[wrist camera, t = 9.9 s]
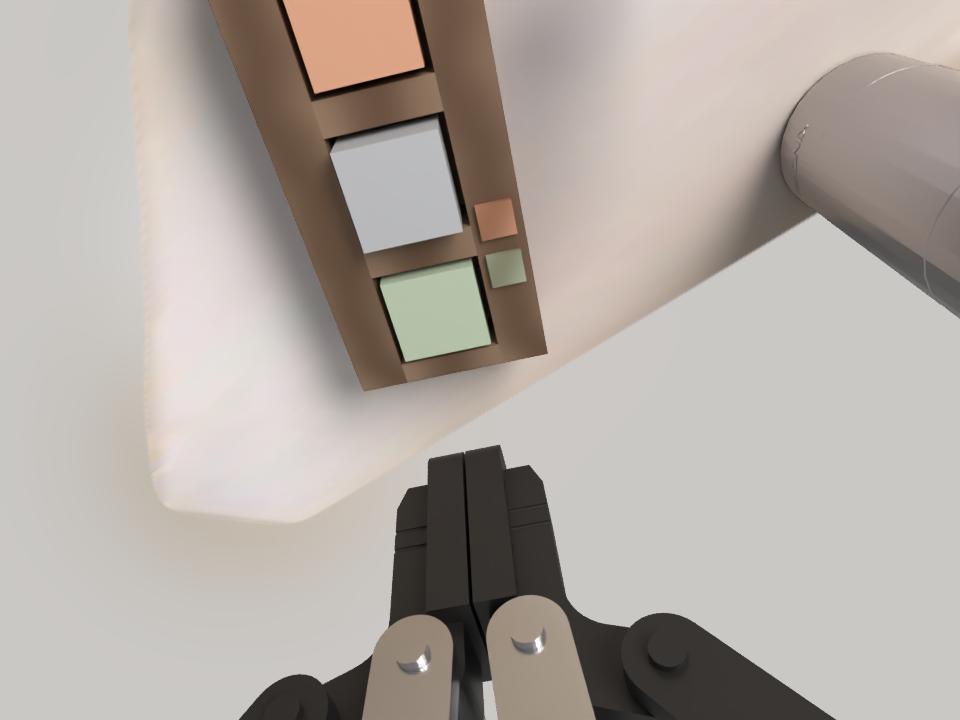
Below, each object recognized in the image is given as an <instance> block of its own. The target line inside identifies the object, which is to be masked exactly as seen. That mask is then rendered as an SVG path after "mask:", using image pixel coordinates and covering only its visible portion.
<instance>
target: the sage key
mask: <svg viewBox="0 0 960 720" xmlns="http://www.w3.org/2000/svg"><path fill="white" fill-rule="evenodd" d="M380 287H381V290H382V293H383V296H384V299H385V302H386V305H387V308H388V311H389V314H390V317H391V320H392V323H393V326H394V329H395V332H396V335H397V338H398V340H399V343H400V346H401V349H402V352H403V355H404V358H405V361H406V362H407V361H412V360H417V359H422V358H426V357H431V356H436V355H441V354H446V353H450V352H455V351H460V350H465V349H470V348H474V347H479V346H484V345H489V344H491V339H490V331H489V324H488V317H487V313H486V309H485V305H484V301H483V296H482V292H481V288H480V284H479V280H478V275H477V271H476V267H475V263H474V259H473V256H472V257H468V258H463V259H459V260H454V261H450V262H445V263H440V264H436V265H431V266H427V267H422V268H418V269H413V270H408V271H404V272H399V273H395V274H390V275H386V276H382V277H381V283H380Z"/></svg>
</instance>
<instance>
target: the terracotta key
mask: <svg viewBox="0 0 960 720" xmlns="http://www.w3.org/2000/svg"><path fill="white" fill-rule="evenodd" d="M283 1H284V4H285V7H286V10H287V13H288V16H289V19H290V22H291V25H292V28H293V31H294V34H295V37H296V40H297V43H298V46H299V49H300V52H301V54H302V57H303V60H304V63H305V66H306V69H307V72H308V75H309V78H310V81H311V84H312V87H313V90H314V93H319V92H323V91H328V90H332V89H336V88H340V87H344V86H348V85H352V84H357V83H361V82H365V81H369V80H373V79H377V78H381V77H386V76H390V75H394V74H398V73H402V72H406V71H410V70H414V69H419V68H423V67H424V66H425V53H424V49H423V44H422V40H421V36H420V32H419V28H418V23H417V19H416V15H415V11H414V7H413V2H412V0H283Z"/></svg>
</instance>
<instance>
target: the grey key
mask: <svg viewBox="0 0 960 720" xmlns="http://www.w3.org/2000/svg"><path fill="white" fill-rule="evenodd" d="M330 156H331V159H332V162H333V165H334V168H335V170H336V173H337V176H338V179H339V182H340V185H341V188H342V191H343V194H344V197H345V200H346V202H347V205H348V208H349V211H350V214H351V217H352V220H353V223H354V226H355V229H356V232H357V234H358V237H359V240H360V243H361V246H362V249H363V252H364V254H365V253H369V252H374V251H378V250H383V249H387V248H392V247H396V246H401V245H405V244H410V243H414V242H419V241H423V240H428V239H432V238H437V237H442V236H446V235H451V234H455V233H460V232H463V228H462V216H461V209H460V205H459V200H458V196H457V192H456V188H455V184H454V179H453V175H452V171H451V167H450V163H449V159H448V154H447V150H446V146H445V142H444V138H443V133H442V129H441V125H440V121H439V117H438V114H434V115H430V116H426V117H422V118H417V119H413V120H409V121H405V122H401V123H396V124H392V125H388V126H384V127H379V128H375V129H371V130H367V131H362V132H358V133H354V134H350V135H345V136H341V137H338V138H337V140H336V142H335V144H334V146H333V149H332V151H331V153H330Z"/></svg>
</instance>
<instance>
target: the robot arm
mask: <svg viewBox="0 0 960 720" xmlns="http://www.w3.org/2000/svg"><path fill="white" fill-rule="evenodd" d="M780 158H781V169H782V173H783V176H784V179H785V182H786V183H787V185H788V186H789V188H790V190H791V191H792V192H793V193H794V194H795V195H796V196H797V197H798V198H799V199H801V200H802V201H803V202H804V203H806V204H807V205H809V206H810V207H811V208H813V209H814V210H815V211H817V212H818V213H819V214H821V215H822V216H823V217H825V218H826V219H827V220H828V221H830V222H831V223H832V224H834V225H835V226H836V227H837V228H839V229H840V230H841V231H843V232H844V233H845V234H847V235H848V236H850V237H851V238H852V239H854V240H855V241H856V242H857V243H859V244H860V245H862V246H863V247H864V248H866V249H867V250H868V251H870V252H871V253H872V254H874V255H875V256H877V257H878V258H879V259H880V260H882V261H883V262H884V263H886V264H887V265H888V266H890V267H891V268H892V269H894V270H895V271H896V272H898V273H899V274H900V275H902V276H903V277H905V278H906V279H907V280H908V281H910V282H911V283H912V284H914V285H915V286H916V287H918V288H919V289H920V290H922V291H923V292H925V293H926V294H927V295H929V296H930V297H931V298H932V299H934V300H935V301H936V302H938V303H939V304H941V305H942V306H944V307H945V308H946V309H948V310H949V311H950V312H952V313H953V314H954V315H956V316H957V317H958V318H960V70H957V69H953V68H949V67H946V66H942V65H934V64H930V63H926V62H923V61H919V60H915V59H911V58H907V57H904V56H900V55H896V54H887V53H876V54H871V55H867V56H862V57H858V58H856V59H854V60H851V61H849V62H847V63H844V64H842V65H840V66H839V67H837V68H836V69H834V70H833V71H831V72H830V73H828V74H827V75H825V76H824V77H823V78H822V79H821V80H820V81H818V82H817V83H816V84H815V85H814V86H813V87H812V88H811V89H810V90H809V91H808V92H807V94H806V95H805V96H804V97H803V99H802V100H801V101H800V102H799V104H798V105H797V107H796V109H795V111H794V112H793V114H792V116H791V118H790V119H789V121H788V124H787V127H786V130H785V132H784V135H783V139H782V145H781V152H780ZM491 680H492V682H493V689H494V695H495V702H496V708H497V715H498V720H836V719H834V718H833V717H831V716H830V715H828V714H827V713H825V712H824V711H822V710H821V709H820V708H818V707H817V706H815V705H814V704H812V703H811V702H809V701H808V700H806V699H805V698H803V697H802V696H801V695H799V694H798V693H796V692H795V691H793V690H792V689H790V688H789V687H787V686H786V685H785V684H783V683H782V682H780V681H779V680H777V679H776V678H774V677H773V676H771V675H770V674H769V673H767V672H766V671H764V670H763V669H761V668H760V667H758V666H757V665H755V664H754V663H752V662H751V661H750V660H748V659H746V658H745V657H744V656H742V655H741V654H739V653H738V652H736V651H735V650H733V649H732V648H731V647H729V646H728V645H726V644H725V643H723V642H722V641H720V640H719V639H717V638H716V637H715V636H713V635H712V634H710V633H709V632H707V631H706V630H704V629H703V628H701V627H700V626H698V625H697V624H696V623H694V622H692V621H691V620H689V619H687V618H684V617H682V616H680V615H675V614H669V613H656V614H652V615H648V616H645V617H643V618H641V619H640V620H638V621H636V622H635V623H634V624H633V625H632V626H631V627H630V628H628V627H621V626H615V625H608V624H602V623H598V622H595V621H593V620H590V619H588V618H587V617H585V616H583V615H582V614H580V613H579V612H578V611H577V610H576V609H575V608H574V607H573V606H572V605H571V604H570V602H569V601H568V599H567V597H566V594H565V588H564V583H563V578H562V573H561V567H560V562H559V558H558V552H557V547H556V541H555V536H554V532H553V527H552V522H551V517H550V513H549V508H548V504H547V499H546V495H545V490H544V485H543V481H542V480H541V479H540V478H539V476H538V475H537V474H536V473H535V472H534V470H533V469H532V468H531V467H530V466H529V465H527V466H521V467H516V468H511V469H506V465H505V461H504V457H503V454H502V450H501V447H500V445H496V446H491V447H486V448H481V449H476V450H470V451H466V452H465V454H464V452H461V453H456V454H451V455H446V456H441V457H436V458H431V459H429V461H428V485H424V486H419V487H414V488H409V489H408V490H407V492H406V494H405V496H404V498H403V500H402V502H401V503H400V506H399V507H398V509H397V521H396V537H395V554H394V566H393V581H392V596H391V610H390V621H389V627H388V629H387V630H386V631H385V632H384V633H383V635H382V636H381V637H380V639H379V641H378V642H377V644H376V646H375V649H374V652H373V654H372V655H371V656H370V657H369V658H368V659H367V660H366V661H364V662H363V663H362V664H360V665H359V666H357V667H355V668H354V669H352V670H350V671H348V672H346V673H344V674H342V675H340V676H338V677H336V678H334V679H332V680H330V681H329V682H327V683H325V684H323V685H322V684H321V683H320V682H319V681H318V680H317V679H315V678H313V677H312V676H308V675H301V674H298V675H292V676H288V677H285V678H283V679H281V680H278V681H277V682H275V683H274V684H272V685H271V686H269V687H268V688H267V689H266V690H265V691H264V692H263V693H262V694H261V695H260V696H259V697H258V698H257V699H256V700H255V702H254V703H253V704H252V705H251V706H250V707H249V709H248V710H247V711H246V712H245V713H244V714H243V715H242V717H241V718H240V719H239V720H486V719H485V716H484V699H483V683H482V682H485V681H491Z"/></svg>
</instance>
